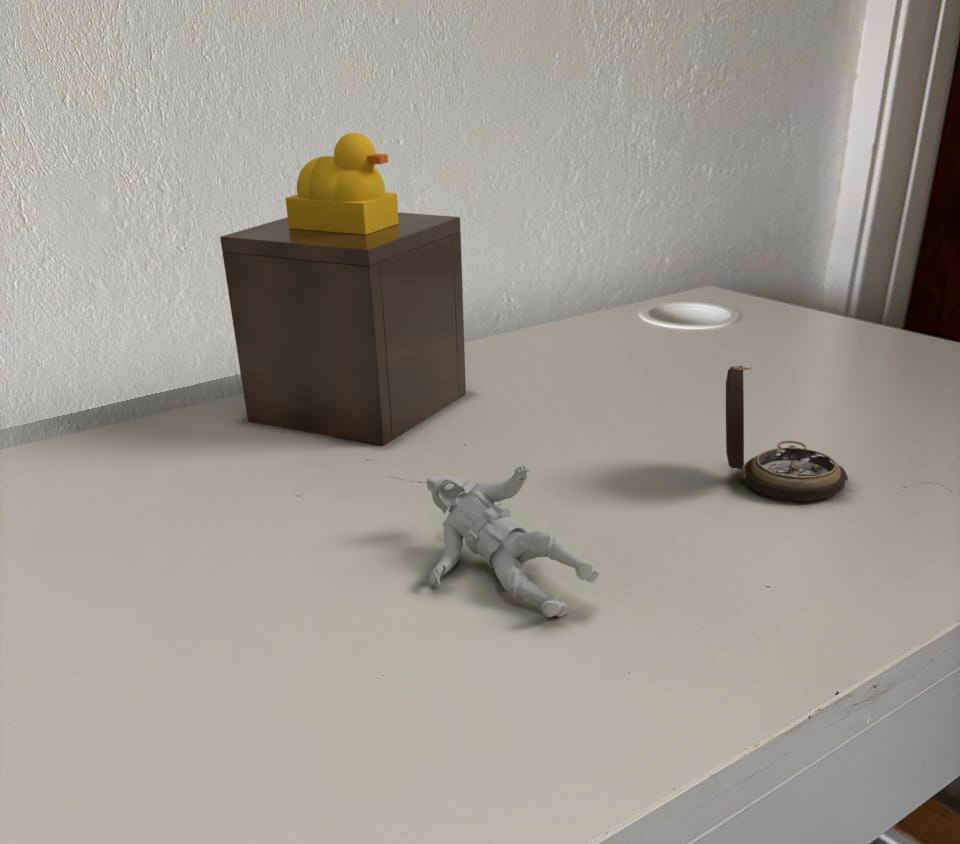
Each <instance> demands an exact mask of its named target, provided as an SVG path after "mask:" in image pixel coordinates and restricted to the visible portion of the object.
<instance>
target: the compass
mask: <svg viewBox="0 0 960 844" xmlns="http://www.w3.org/2000/svg"><path fill="white" fill-rule="evenodd" d="M752 368H753V367H752V366H750V367H744V366H743V365H734V366H730V367H729V368H728V370H727V373H726V379H725V450H726V452H725V453H726V458H727V463H728V467H730V469H732V470H733V469H736V470H737V469H738V470H740V473H742V477H743V479H744V482H745V483H746V484H747V485H748V487H750V488H751V489H753V490H754V491H756V492H758V493H760V494H762V495H765V496H768V497H770V498H771V497H772V498H775V499H780V500H786V501H797V502H806V501H807V502H808V501H809V502H810V501H819V500H823V499H828V498H831V497H833V496H835V495H837V494H838V493H840V492H841V491H842V490H843V489H845V486H846V485H845V484H846V482H848V480H849V475H848V474H847V472H846V470H845V469H844V468H843V467H842V466H841V465H839V463H838V462H836V461H835V460H834V458H832V457H831V456H829V455H827V454H825V453H823V452H820V451H817V450H813V449H809V448H807V446H806V444H805V443H803V442H801V441H796V440H782V441H780V442H778V443H777V446H776V447H777V448H772V449H768V450H765V451H763V452H761V453H759V454H758V455H756V456H754V457H752V458H751V459H749V460H748V461H747V462H746V463H745V421H744V420H745V414H744V413H745V403H744V402H745V399H744V397H745V396H744V371H748V370H752ZM784 444H792V445H789V446H788V447H781V445H784ZM794 444H796V445H800V446H802V447H803V448H801V447H796V445H794Z"/></svg>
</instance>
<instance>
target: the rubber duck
mask: <svg viewBox="0 0 960 844" xmlns="http://www.w3.org/2000/svg"><path fill="white" fill-rule="evenodd" d="M376 152H377V151H376V148H375V146H374V144H373V142H372V141H371V140H370V139H369V138H368V137H367V136H366V135H364V134H362V133H358V132H350V133H346V134H344V135H343V136H341V137H340V138H339V139H338V140H337V142H336V144H335V147H334V150H333V156H331V155H324V156H318V157H315V158H313V159H310V161H308V162H307V163H306V164H304V166H303V167H302V168H301V170H300V172H299V174H298V177H297V181H296V194H295V195H292V196H291V195H290V196H288V197H285V205H286V206H285V207H286V215H287V217H288V224H289V229H300V230H312V231H323V232H335V233H347V234H359V235H367V234H370V233H373V232H376V231H379V230H382V229H385V228H388V227H391V226H394V225H397V224H399V220H398V213H399V208H398V205H399V204H398V193H396V192H386V185H385V181H384V179H383V177H382V175H381V173H380V172H379V170H378V169H377V168H376V167H375V166H376V165H383V164H387V163H389V154H387V153H376Z"/></svg>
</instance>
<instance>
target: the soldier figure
mask: <svg viewBox="0 0 960 844" xmlns="http://www.w3.org/2000/svg"><path fill="white" fill-rule="evenodd" d="M527 473H531V468H529V466H526V465H520V466H518V467H516V468H515V470H514V474H512V476H511V477H509V478H508V479H507V480H504V481H501V482H491V483H476V484H475V485H474V486H473V487H472V488H471V489H470V490H469V491H468V492H467V491H466V490H465V488H464V487H466V485H467V484H468V483H469V479H467V478H465V477H464V478H463V477H460V476H457V475H454V474H445V475H441V474H439V473H436V474H435V473H434V474H432V475H431V476H429V477H427V479H426V488H427V490H428V491H429V492H430V493H431V497H432V501H433V503H434V505H435V506H436V507H437V508H439V509H440V510H441V512H442V514H443V515H445V514H447V511H448V514H447V516H446V518H445V520H444V521H443V523H442V526H443V536H444V537H443V543H444V549H443V555H442V556H441V559H440V560H439V561H438V562H437V563H436V564H435V566H434V567H433V569H432V570H431V572H430V575H429V577H430V578H429V582H430V583H431V585H434V582H435V583H436V584H437V585H438V586H441V577H442V576H445V575H446V574H447V573H448V572H449V571H451V570H453V568H454V567H455V566H456V565H457V563H458V561H459V559H460V558H461V553H462V548H463V545H464V543H465V545H466V546H467V548H468V549H469V550H470V551H471V552H472V553H473V555H476V554H478V555H479V556H480V557H482V558H483V559H484V561H485V562H486V563H487V565H488V566H489V567H490V568H492V569H493V570H494V573H495V576H496V578H497V579H498V580H499V582H500V584H501V586H502V588H504V590H505V591H507V592H509V593H511V594H512V596H513V597H514V599H515V598H516V599H517V598H523V599H527V600H529V601H532V602H534V603H537V604H540V609H541V611H542V614H544V616H545V617H547V618H552V617H555V616H556V617H559V618H560V617H563V616H565V615H566V614H567V613H568V611H569V608H570V607H569V606H568V605H567V604H566V602H563V601H561V599H559V598H557V597H556V596H554V595H552V594H549V593H547V592H546V591H544V590H543V589H541V587H540V586H539V585H537V584H536V583H535V582H533V581H532V580H530V579H529V577H528V576H527V574H525V571H524V570H525V564H526V562H528V561H531V560H534V559H535V560H536V559H537V558H548V559H550V560H552V561H556V562H558V563H560V564H562V565H565V566H566V567H570V568H573V569H574V571H575V574H576V577H577V578H578V579H580V580H582V581H587V582H589V583H594V582H595V581H596V580H597V579H598V577H599V576H600V573H599V572H598V571H597V570H596V569H595V567H593V566H592V564H590V563H589V562H587V561H585V560H584V559H582V557H581V556H580V555H578V554H577V553H575V551H573V550H572V549H571V548H570V547H569V546H568V545H567V544H565V543H564V542H563V541H562V540H560V539H559V538H558V536H557V535H556V534H554V533H550V532H547V531H541V530H533V531H532V530H531V531H526V530H525V528H524V527H522V526H521V525H518V524H517V523H516V522H514V521H513V520H512V519H511V518H510V517H511V511H510V510H509V509H507V508H506V507H505V506H503V505H502V504H501V502H502V501H504V500H507V499H512V498H513V497H515V496H517V494H518V493H519V492H520V491H521V489H522V487H523V485H524V483H525V482H526V480H527V479H528V474H527Z"/></svg>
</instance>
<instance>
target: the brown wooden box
mask: <svg viewBox="0 0 960 844" xmlns="http://www.w3.org/2000/svg"><path fill="white" fill-rule="evenodd" d="M398 220H399V224H397V225H394V226H391V227H388V228H385V229H382V230H379V231H376V232H373V233H370V234H367V235H359V234H347V233H335V232H323V231H312V230H300V229H289V224H288V216H287V217H284V218H279V219H276V220H273V221H270V222H266V223H263V224H260V225H256V226H253V227H248V228H245V229H241V230H239V231H235V232H231V233H228V234H224V235H221V236H220V237H219V240H220V246H221V252H222V259H223V267H224V272H225V279H226V286H227V292H228V293H227V294H228V298H229V299H228V300H229V306H230V312H231V313H230V314H231V318H232V319H231V320H232V326H233V332H234V339H235V345H236V346H235V347H236V352H237V359H238V366H239V372H240V379H241V386H242V391H243V392H242V393H243V398H244V404H245V412H246V418H247V421H248V422H253V423H258V424H264V425H270V426H275V427H280V428H287V429H292V430H297V431H302V432H308V433H313V434H319V435H324V436H329V437H335V438H340V439H346V440H352V441H356V442H357V441H358V442H361V443H362V442H363V443H369V444H374V445H379V446H385V445H386V444H388V443H390V442H391V441H393V440H395V439H396V438H397V437H399V436H401V435H403V434H404V433H406V432H407V431H409V430H411V429H412V428H413V427H415V426H417V425H418V424H420V423H422V422H423V421H424V420H427V419H428V418H430V417H431V416H433V415H435V414H436V413H437V412H439V411H441V410H442V409H443V408H445V407H447V406H449V405H450V404H451V403H453V402H455V401H457V400H458V399H459V398H462V397H464V396H465V395H466V394H467V386H466V354H465V353H466V352H465V350H466V349H465V324H464V323H465V321H464V290H463V288H464V287H463V262H462V232H461V217H460V216H453V215H439V214H423V213H412V212H411V213H410V212H398Z"/></svg>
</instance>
